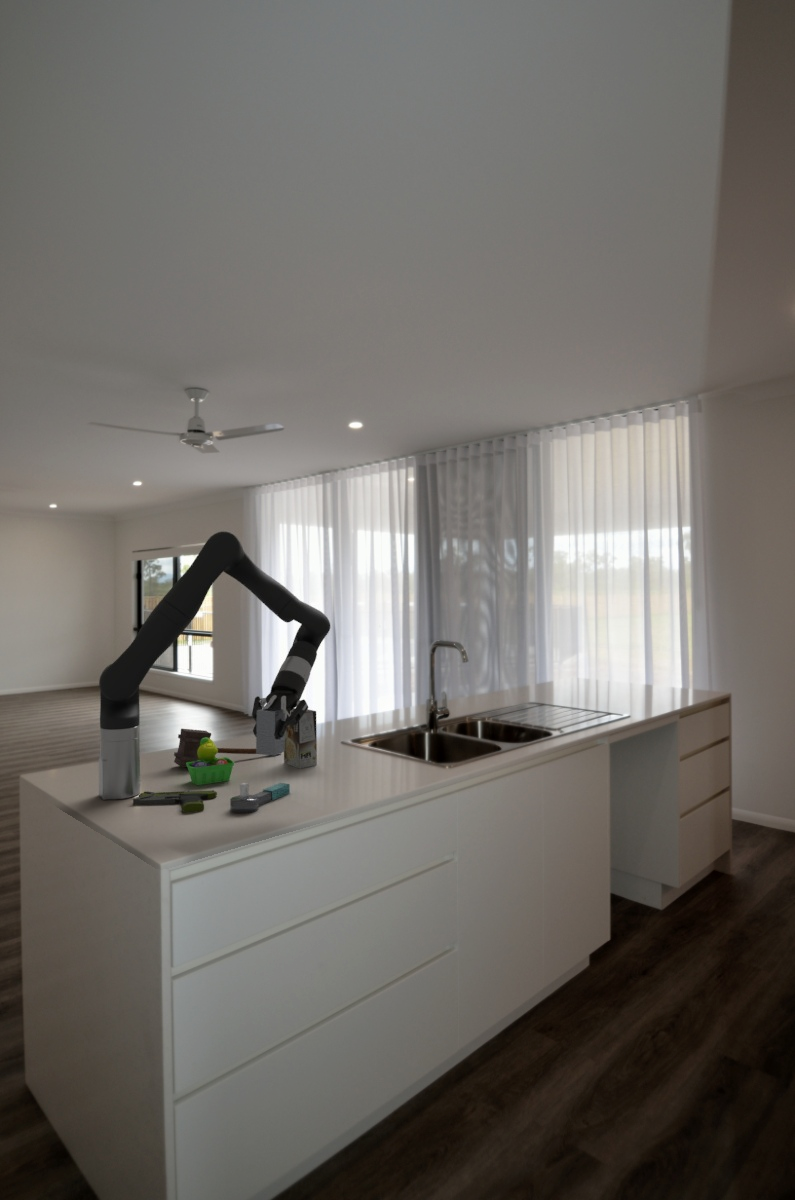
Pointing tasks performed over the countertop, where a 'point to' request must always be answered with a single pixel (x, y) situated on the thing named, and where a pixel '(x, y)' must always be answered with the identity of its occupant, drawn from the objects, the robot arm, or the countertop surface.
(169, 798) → the gun
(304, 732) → the coffee box
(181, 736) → the hammer
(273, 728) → the grey hollow square tube
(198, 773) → the fruit basket
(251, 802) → the ratchet
